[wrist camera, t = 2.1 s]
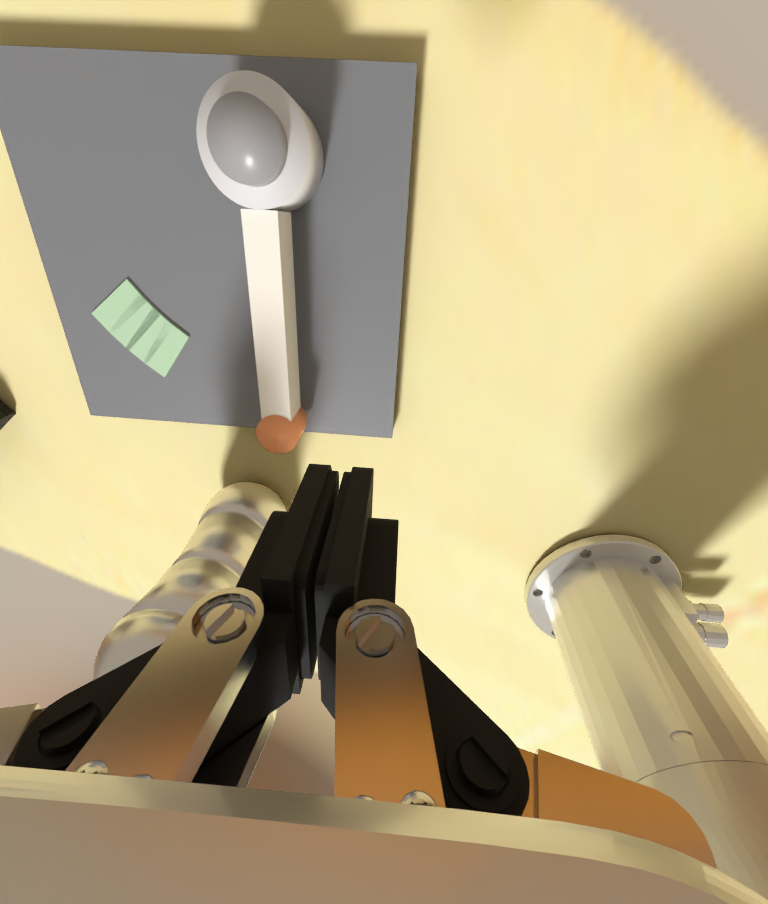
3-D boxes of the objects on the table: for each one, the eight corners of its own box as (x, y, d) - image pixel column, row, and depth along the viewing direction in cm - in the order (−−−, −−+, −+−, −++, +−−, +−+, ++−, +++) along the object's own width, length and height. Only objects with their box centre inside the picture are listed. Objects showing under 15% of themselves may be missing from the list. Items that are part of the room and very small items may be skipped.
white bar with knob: (322, 97, 20) (299, 64, 16) (328, 432, 29) (313, 465, 25) (222, 92, 20) (174, 58, 16) (258, 427, 29) (232, 459, 25)
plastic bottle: (237, 540, 37) (74, 824, 19) (206, 477, 34) (-23, 746, 16) (305, 531, 36) (198, 822, 18) (279, 464, 33) (119, 738, 15)
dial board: (417, 73, 21) (417, 61, 19) (392, 429, 30) (391, 439, 29) (0, 55, 22) (-31, 42, 20) (104, 407, 31) (89, 416, 30)
